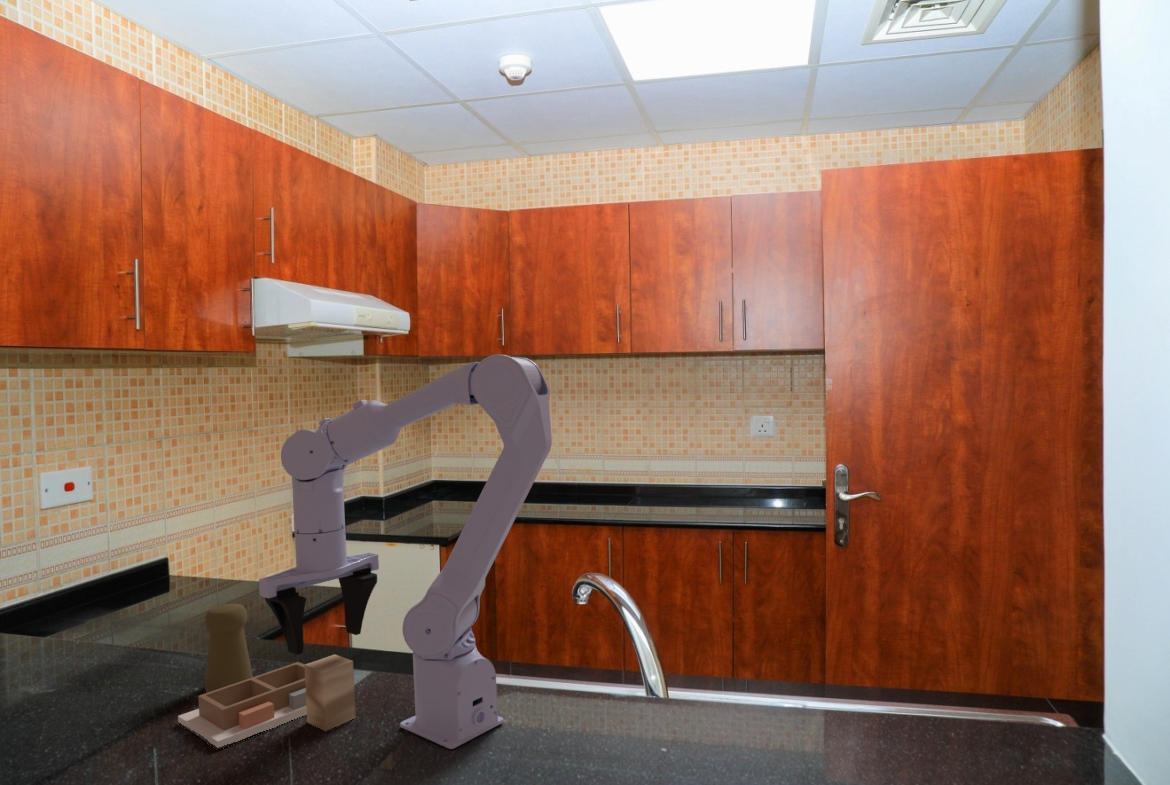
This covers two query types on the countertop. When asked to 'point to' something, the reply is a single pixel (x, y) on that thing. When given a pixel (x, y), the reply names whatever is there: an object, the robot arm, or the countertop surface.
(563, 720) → the countertop surface
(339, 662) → the maple peg
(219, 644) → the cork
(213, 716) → the socket board
